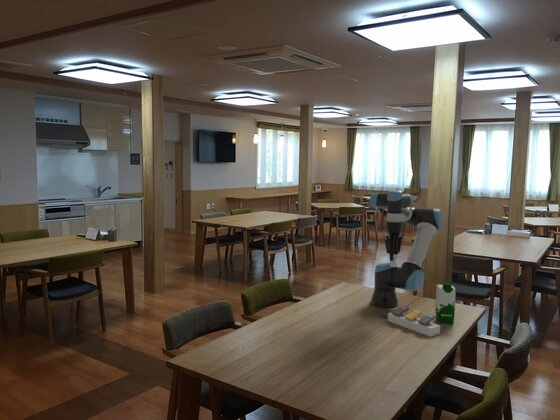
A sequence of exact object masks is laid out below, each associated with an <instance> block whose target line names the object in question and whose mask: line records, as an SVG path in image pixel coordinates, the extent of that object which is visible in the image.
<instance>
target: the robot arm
mask: <svg viewBox="0 0 560 420" xmlns="http://www.w3.org/2000/svg"><path fill="white" fill-rule="evenodd" d="M369 204H370V206H372V207H375V208H381V209H382V210H384V211H386V229H387V232H386V234H384V235H383V239H384V243H385V250H386V254H388V255H389V262H384V263H377V264H376V265H375V268H374V291H373V293H372V295H371V298H370V303H371V305H372V306H375V307H380V308H395V307H397V306H399V299H398V297H397V292H396V289H401V290H405V291H408V292H409V291H410V292H411V291H413V292H417V291H419V290H420V289H421V288H422V287H423V285H424V282H425V278H426V277H425V272H424V269H423V268H422V267H423V263H424V261H425V258H426V256H427V252H428V249H429V247H430V244H431V243H432V242H431V241H432V238H433V236H434V235H435V234H437V232H438V231H439V230H442V229H443V228H444V224H445V223H444V222H445V219H444V217H445V216H444V212H443V211H442V210H441V209H440V208H429V207H427V208H425V207H412V205H413V204H414V198H413V196H412V195H411V194H408V193H403V191H401V190H389V191H388V192H387V193H386V192H384V193H383V192H373V193H372V194H371V195H370V197H369ZM402 223H404V224H406V225H409V226H411V227H414V228H415V227H416V228H417V232H416V235H415V237H414V241H413V243H412V246H411V248H410V250H409V253H408V256H407V258H406V261H404V262H402V265H401V266H397V259H398V258H397V256H398V255H399V253H400V252H401V249H402V243H403V239H404V236H405V234H404V233H401V232H402V231H401V230H402V227H403V225H402Z"/></svg>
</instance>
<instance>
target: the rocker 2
mask: <svg viewBox="0 0 560 420" xmlns="http://www.w3.org/2000/svg"><path fill="white" fill-rule="evenodd" d="M406 314H407V315H406V316H404V317H405V319H407V320H410V321H412V320H413V319H415V318H416V317H417V318H419V317H420V316H421V315H423V313H422V311H421V310H418V309H414V310H412V311H411V312H409V313H406Z"/></svg>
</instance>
